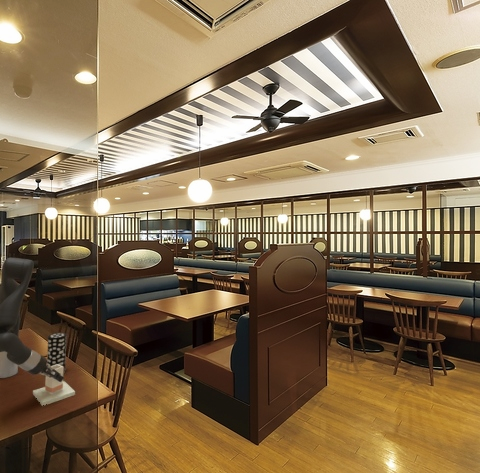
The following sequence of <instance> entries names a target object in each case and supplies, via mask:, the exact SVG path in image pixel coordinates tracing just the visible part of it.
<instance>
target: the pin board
mask: <svg viewBox="0 0 480 473" xmlns="http://www.w3.org/2000/svg"><path fill="white" fill-rule="evenodd" d="M32 395H33V396H34V398H35V399H36V398H37V399H36V400H37V401H38V403H39V402H40V403H39V404H40V406H42V407H44V406H47V405H49V404H52V403H56V402H58V401H62V400H64V399H67V398H70V397H72V396H75V395H76V391H75V390H74V388H72V387H71V386H70V385H69V384H68V383H67V382H66V381H65V380H63V388H62V389H60V390H57V391H55V392H53V393H51V392H48V391H46V390H45V386H43V387H41V388H37V389H33V390H32ZM46 404H47V405H46ZM43 405H44V406H43Z"/></svg>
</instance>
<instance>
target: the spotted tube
mask: <svg viewBox="0 0 480 473" xmlns="http://www.w3.org/2000/svg"><path fill="white" fill-rule="evenodd" d="M66 354H67V333H66V332H56V333H52V334H50V335H48V336H47V353H46V355H47V356H46V359H47V365H49V366H53V365H56V364H58V365H61V366H64V369H63V375H64V374H65V373H66V362H67V361H66V357H67V355H66Z"/></svg>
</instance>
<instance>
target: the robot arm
mask: <svg viewBox="0 0 480 473" xmlns="http://www.w3.org/2000/svg"><path fill="white" fill-rule="evenodd" d="M34 265H35V263H34V261H33V260H32V259H28V258H27V259H26V258H20V257H19V258H18V257H8V258H6V259H5V260H4V261H3V263H2V267H1V277H0V278H1V279H0V280H1V281H0V379H5V378H9V377H13V376H15V375H17V374H18V371H19V370H18V368H21V369H22V370H23V371H25V372H26V373H29V374H30V375H32V376H35V375H38V374H39V375H42V376H45V377H46V376H47V377H50V378H51V377H52V378H54V379H56V380H58V381H59V382H62V380H63V381H64V379H65V378H64V375H63V376H61V374H60V373H58V372H57V371H56V370H55V369H53V368H51V366H49V365H47V357H45V356H43V355H42V354H40V353H38V352H37V351H36V350H33V349H31V348H29V347H28V346H27V345H25V344H24V343H23V341H22V339H20V324H21V307H22V304H23V302H24V298H25V296H26V293H27V290H28V289H29V284H30V281H31V279H32V276H33V272H34ZM16 280H20V283H18V282H17V281H16Z"/></svg>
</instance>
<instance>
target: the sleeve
mask: <svg viewBox="0 0 480 473" xmlns="http://www.w3.org/2000/svg"><path fill="white" fill-rule="evenodd" d="M51 368H53V369H55V370H56V371H57V372H58V373H60V374H61V376H63V377H64V374H63V369H64V366H61V365H58V364H56V365H53V366H51ZM63 381H64V379H63V380H62V382H59V381H58V380H56V379H54V378H52V377H51V378H50V377H47V376H45V383H44V384H45V386H44V387H45V390H46V391H48V392H51V393H53V392H55V391H57V390H60V389H62V388H63Z"/></svg>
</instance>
